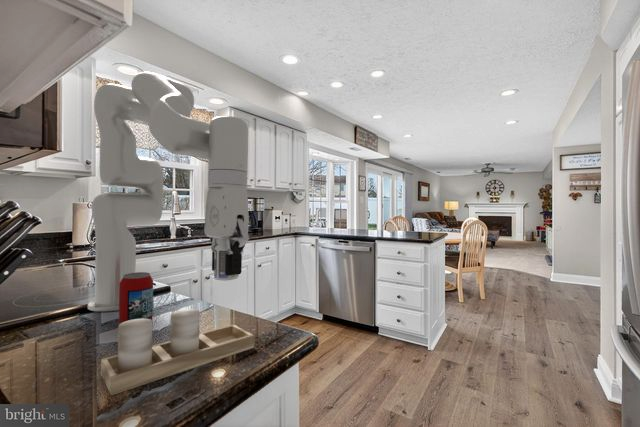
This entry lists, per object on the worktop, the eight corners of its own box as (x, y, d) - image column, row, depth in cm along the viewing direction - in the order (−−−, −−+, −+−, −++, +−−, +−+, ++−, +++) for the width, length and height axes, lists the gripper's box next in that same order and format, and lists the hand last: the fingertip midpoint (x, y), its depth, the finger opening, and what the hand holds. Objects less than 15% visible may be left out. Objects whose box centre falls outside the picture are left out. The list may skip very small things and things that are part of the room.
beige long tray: (100, 374, 51) (101, 322, 51) (233, 335, 68) (234, 296, 68) (111, 395, 45) (112, 337, 45) (253, 347, 62) (254, 305, 62)
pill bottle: (243, 277, 63) (244, 236, 63) (227, 282, 59) (228, 237, 59) (225, 274, 65) (226, 234, 65) (208, 279, 61) (209, 236, 61)
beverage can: (137, 332, 68) (138, 278, 68) (111, 329, 70) (112, 276, 70) (158, 322, 75) (159, 272, 75) (134, 319, 76) (135, 270, 76)
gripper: (192, 181, 66) (190, 268, 66) (232, 176, 53) (230, 282, 54) (225, 184, 71) (223, 264, 71) (268, 180, 59) (266, 276, 59)
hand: (226, 271), depth 62 cm, fingers closed on pill bottle, 4 cm apart
